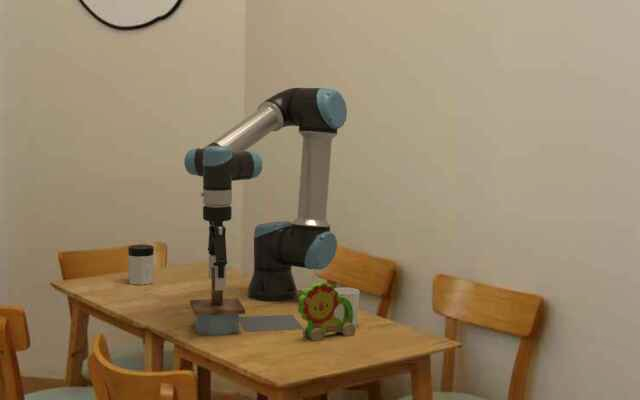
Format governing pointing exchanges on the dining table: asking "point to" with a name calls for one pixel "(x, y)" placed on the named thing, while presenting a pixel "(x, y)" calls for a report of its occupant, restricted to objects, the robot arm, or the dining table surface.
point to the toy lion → (324, 312)
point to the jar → (141, 264)
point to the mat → (269, 323)
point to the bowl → (217, 324)
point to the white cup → (353, 298)
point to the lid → (217, 303)
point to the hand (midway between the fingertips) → (217, 284)
